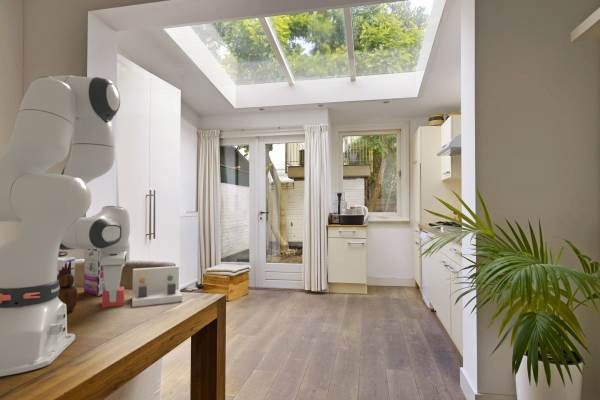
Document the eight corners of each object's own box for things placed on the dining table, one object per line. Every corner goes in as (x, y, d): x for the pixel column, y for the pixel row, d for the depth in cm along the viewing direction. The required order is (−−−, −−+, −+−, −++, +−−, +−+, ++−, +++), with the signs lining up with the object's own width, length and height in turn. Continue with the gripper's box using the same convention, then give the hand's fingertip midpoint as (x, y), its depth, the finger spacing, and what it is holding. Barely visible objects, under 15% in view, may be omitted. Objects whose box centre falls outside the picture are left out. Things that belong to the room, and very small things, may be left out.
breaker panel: (182, 301, 114) (182, 271, 115) (132, 306, 108) (132, 275, 108) (177, 293, 125) (178, 265, 125) (132, 297, 119) (132, 268, 119)
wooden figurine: (72, 307, 107) (73, 259, 107) (80, 310, 104) (81, 261, 104) (46, 312, 101) (47, 262, 102) (54, 316, 98) (55, 264, 98)
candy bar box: (112, 293, 124) (113, 248, 124) (97, 296, 120) (98, 249, 120) (97, 289, 130) (98, 246, 131) (83, 291, 126) (84, 247, 127)
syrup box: (75, 299, 116) (76, 256, 117) (61, 304, 110) (62, 259, 111) (59, 298, 117) (60, 256, 117) (45, 303, 111) (46, 258, 111)
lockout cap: (123, 305, 109) (123, 290, 110) (102, 307, 107) (102, 292, 107) (124, 300, 115) (124, 286, 115) (103, 302, 112) (103, 288, 112)
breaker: (146, 301, 113) (146, 286, 113) (138, 302, 112) (138, 287, 112) (146, 300, 115) (146, 285, 115) (138, 300, 114) (138, 285, 114)
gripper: (105, 252, 119) (104, 292, 119) (100, 261, 101) (99, 308, 100) (125, 251, 122) (125, 290, 122) (124, 259, 104) (123, 305, 103)
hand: (113, 298), depth 111 cm, fingers closed on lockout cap, 6 cm apart
